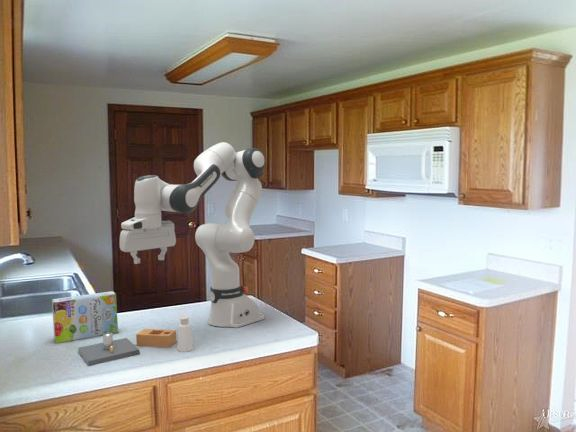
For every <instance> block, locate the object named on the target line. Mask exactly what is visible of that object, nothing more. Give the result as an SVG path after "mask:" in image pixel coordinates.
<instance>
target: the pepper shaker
mask: <svg viewBox="0 0 576 432" xmlns="http://www.w3.org/2000/svg"><path fill="white" fill-rule="evenodd" d="M189 318H190V317H189V316H186V315H185V316H181V317H180V318H179V320H180V324H179V325H178V335H177V336H178V337H177V347H176V349H177V351H178V352H181V353H186V352H190V351H192V350H194V342H193V341H194V340H193V333H192V327H191V324H190V322H189V321H190V320H189Z"/></svg>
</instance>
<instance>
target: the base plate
mask: <svg viewBox="0 0 576 432" xmlns="http://www.w3.org/2000/svg"><path fill="white" fill-rule="evenodd" d="M113 346H114V352H113V353H110V350H104V347H103V342H100V343H95V344H90V345H86V346H81V347H78V348H77V352H78V353H79V355H80V356H81V358H82V360H84V362H85V363H86V364H87V366H94V365H98V364H102V363H107V362H111V361H115V360H119V359H123V358H128V357H133V356H137V355H140V348H138V346H137V345H135V344H134V343H133V342H132V341H130V340H129V339H128V338H127V337H123V338H119V339H113Z"/></svg>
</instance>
